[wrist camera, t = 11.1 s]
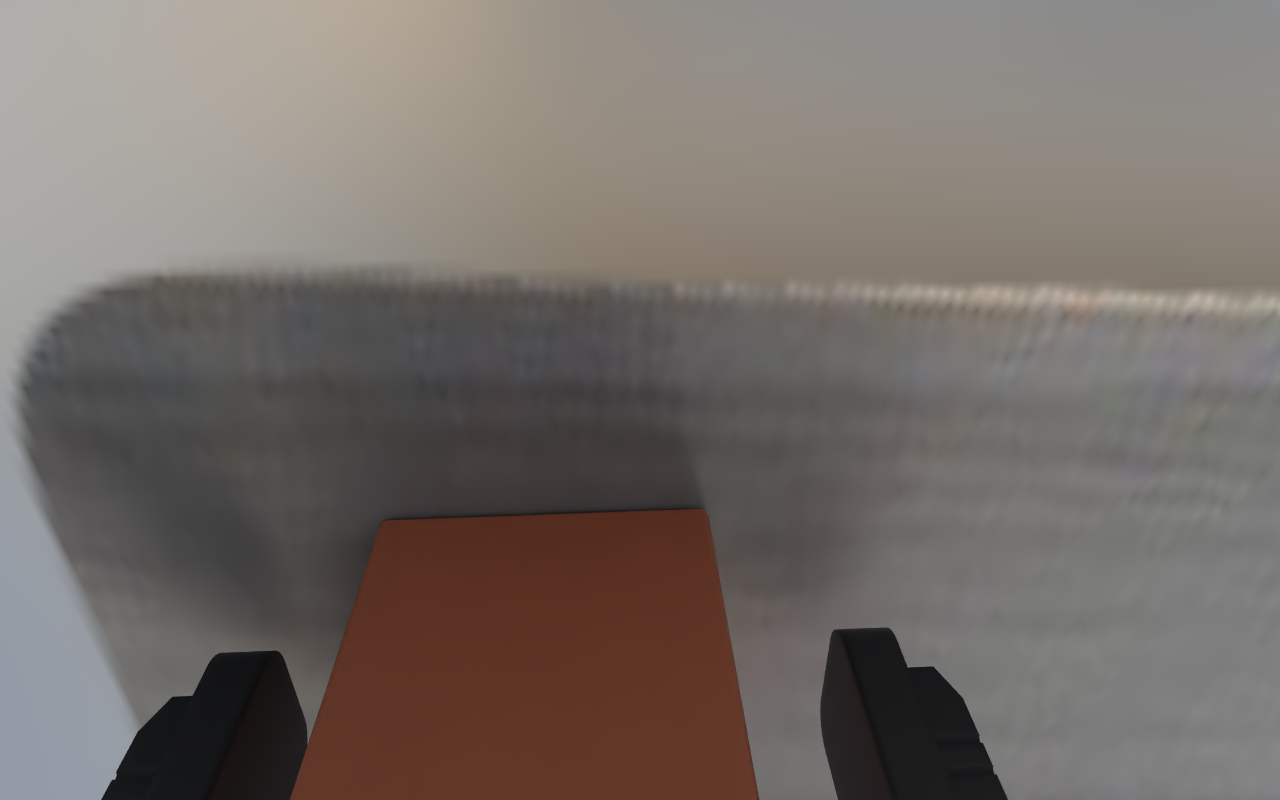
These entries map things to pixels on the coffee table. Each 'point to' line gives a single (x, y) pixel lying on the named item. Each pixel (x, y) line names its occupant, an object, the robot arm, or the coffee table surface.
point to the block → (535, 665)
